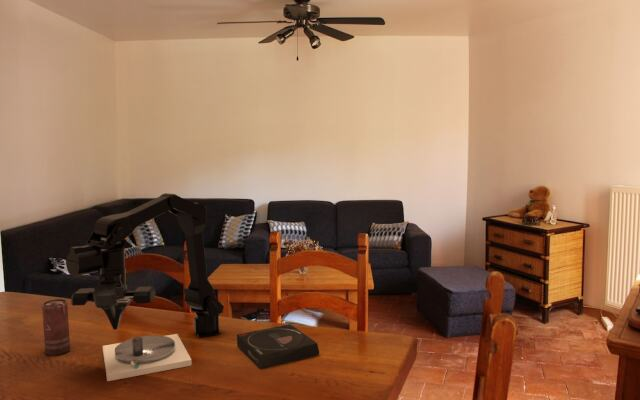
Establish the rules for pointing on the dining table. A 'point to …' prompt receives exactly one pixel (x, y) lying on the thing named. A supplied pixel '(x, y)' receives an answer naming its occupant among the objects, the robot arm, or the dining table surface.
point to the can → (56, 327)
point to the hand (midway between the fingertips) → (115, 329)
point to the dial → (144, 349)
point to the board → (126, 370)
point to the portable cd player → (276, 346)
